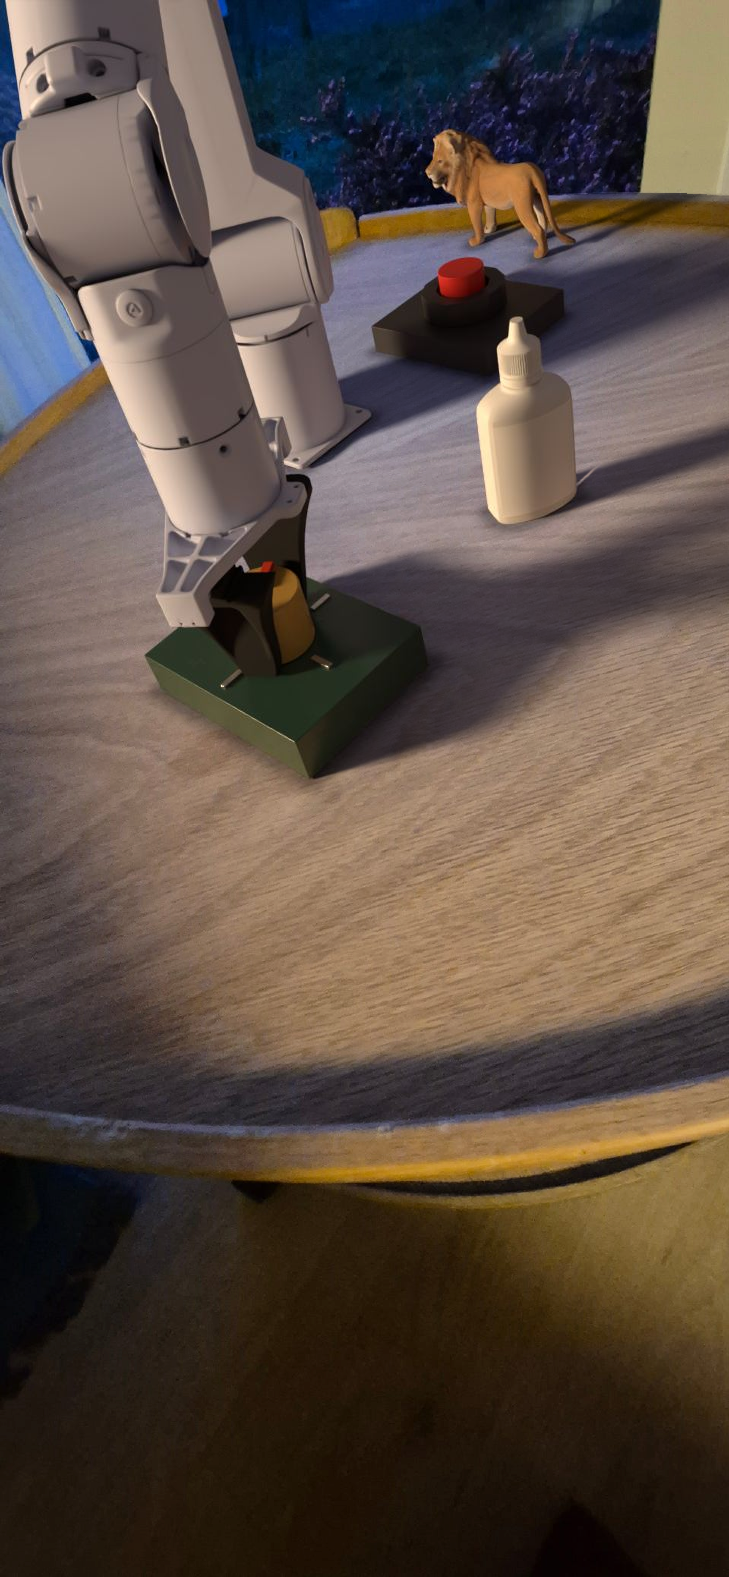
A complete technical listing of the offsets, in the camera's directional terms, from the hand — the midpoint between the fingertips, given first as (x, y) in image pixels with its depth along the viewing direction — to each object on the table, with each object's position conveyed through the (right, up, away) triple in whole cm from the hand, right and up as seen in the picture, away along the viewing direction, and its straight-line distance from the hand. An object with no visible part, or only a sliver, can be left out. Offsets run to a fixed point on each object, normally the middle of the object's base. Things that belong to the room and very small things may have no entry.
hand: (276, 638), depth 53 cm
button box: (+14, +29, +25) cm, 40 cm away
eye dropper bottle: (+16, +10, +8) cm, 20 cm away
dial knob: (0, 0, 0) cm, 0 cm away
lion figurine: (+18, +42, +35) cm, 57 cm away
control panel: (+1, -2, +2) cm, 3 cm away
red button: (+13, +31, +22) cm, 40 cm away
